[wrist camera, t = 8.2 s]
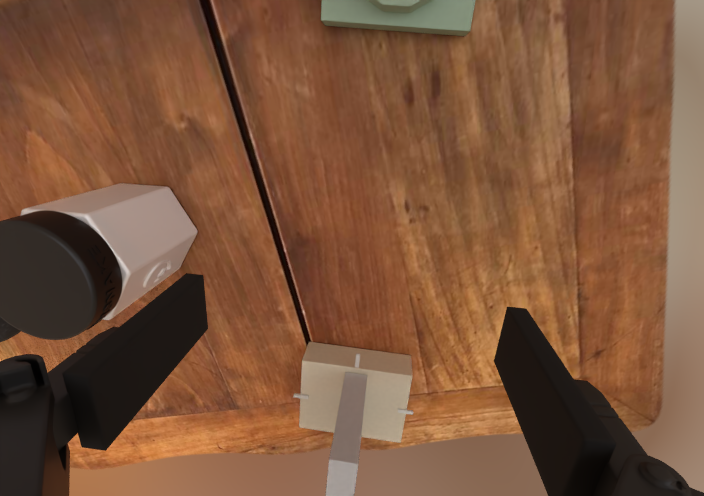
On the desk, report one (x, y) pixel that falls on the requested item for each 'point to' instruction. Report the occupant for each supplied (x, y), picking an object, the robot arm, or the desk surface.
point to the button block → (401, 15)
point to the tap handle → (347, 437)
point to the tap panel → (381, 390)
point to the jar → (89, 257)
